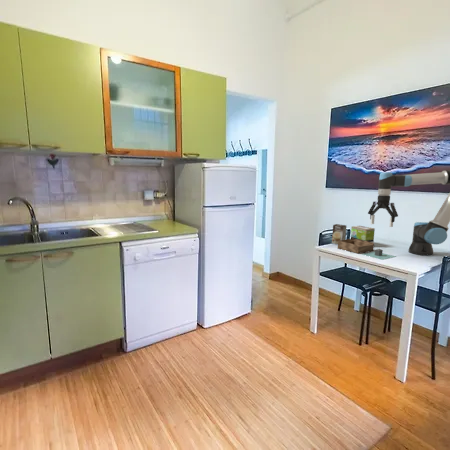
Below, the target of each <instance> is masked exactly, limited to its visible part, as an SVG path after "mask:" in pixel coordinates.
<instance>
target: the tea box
mask: <svg viewBox="0 0 450 450" xmlns="http://www.w3.org/2000/svg"><path fill="white" fill-rule="evenodd" d="M375 230H376V228H374V227H369V226H364V225H353V226H351V229H350V231H351V232H350V239H358V240H363V241H367V242H372V243H374V240H375Z"/></svg>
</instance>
